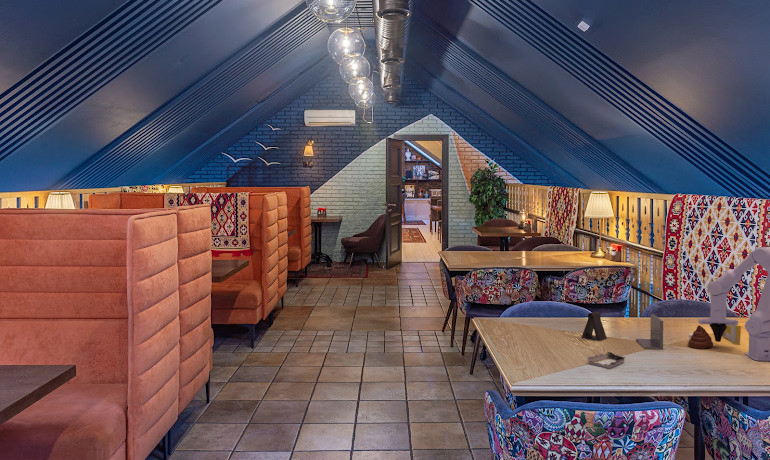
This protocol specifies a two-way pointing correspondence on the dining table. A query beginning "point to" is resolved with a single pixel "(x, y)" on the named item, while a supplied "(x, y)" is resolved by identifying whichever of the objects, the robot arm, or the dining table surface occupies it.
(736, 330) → the candy box
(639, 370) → the dining table surface
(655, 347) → the bookend
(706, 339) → the poop emoji
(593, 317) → the phone stand
